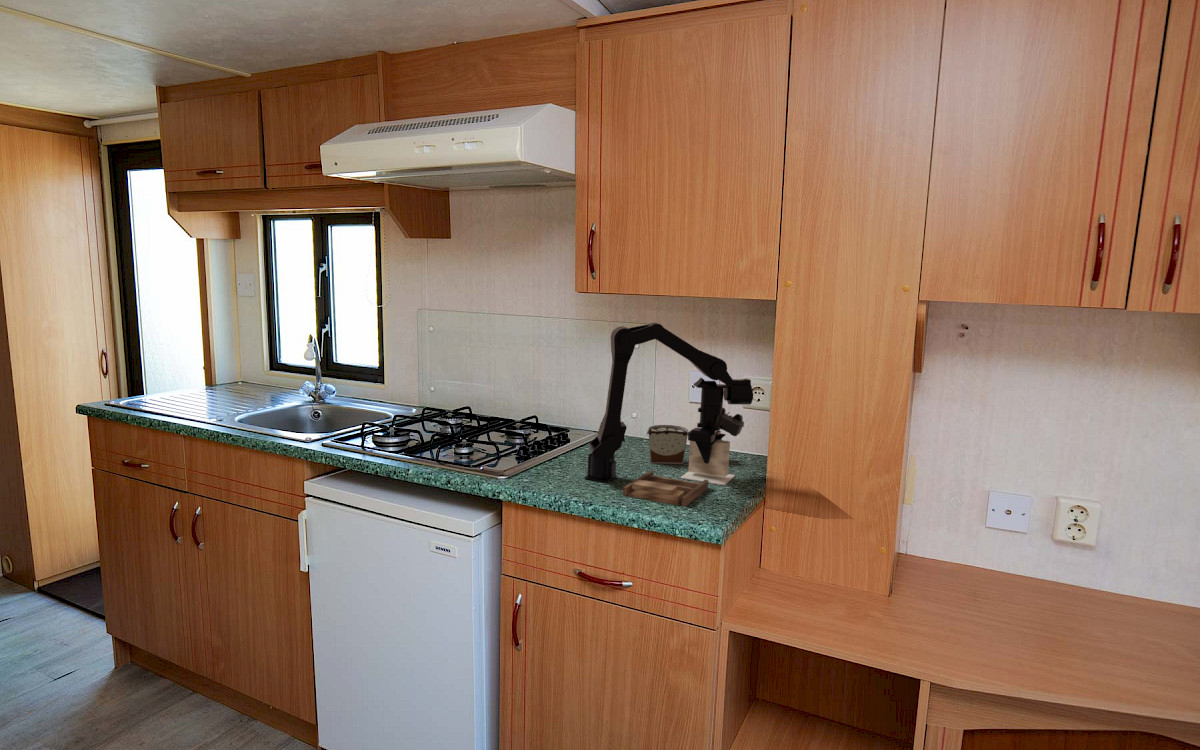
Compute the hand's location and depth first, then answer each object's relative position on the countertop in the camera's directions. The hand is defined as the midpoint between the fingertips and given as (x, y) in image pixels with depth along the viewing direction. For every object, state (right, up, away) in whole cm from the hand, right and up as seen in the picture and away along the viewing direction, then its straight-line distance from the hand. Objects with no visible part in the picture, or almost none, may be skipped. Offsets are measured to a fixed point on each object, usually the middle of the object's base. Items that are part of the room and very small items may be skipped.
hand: (708, 461), depth 189 cm
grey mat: (0, -4, +1) cm, 4 cm away
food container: (-10, -2, +17) cm, 19 cm away
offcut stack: (-15, -7, -18) cm, 24 cm away
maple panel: (0, -3, 0) cm, 3 cm away
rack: (-13, -6, -13) cm, 19 cm away
